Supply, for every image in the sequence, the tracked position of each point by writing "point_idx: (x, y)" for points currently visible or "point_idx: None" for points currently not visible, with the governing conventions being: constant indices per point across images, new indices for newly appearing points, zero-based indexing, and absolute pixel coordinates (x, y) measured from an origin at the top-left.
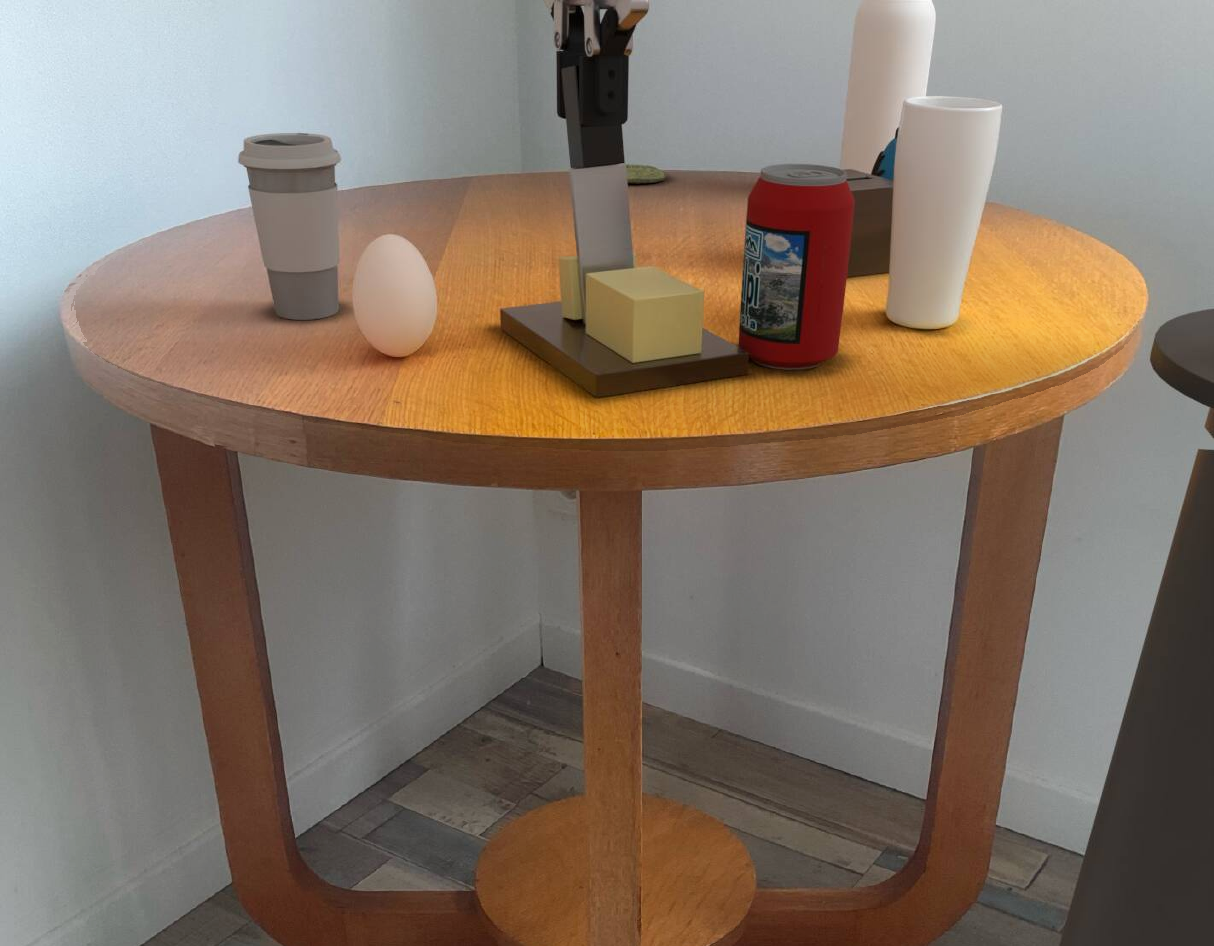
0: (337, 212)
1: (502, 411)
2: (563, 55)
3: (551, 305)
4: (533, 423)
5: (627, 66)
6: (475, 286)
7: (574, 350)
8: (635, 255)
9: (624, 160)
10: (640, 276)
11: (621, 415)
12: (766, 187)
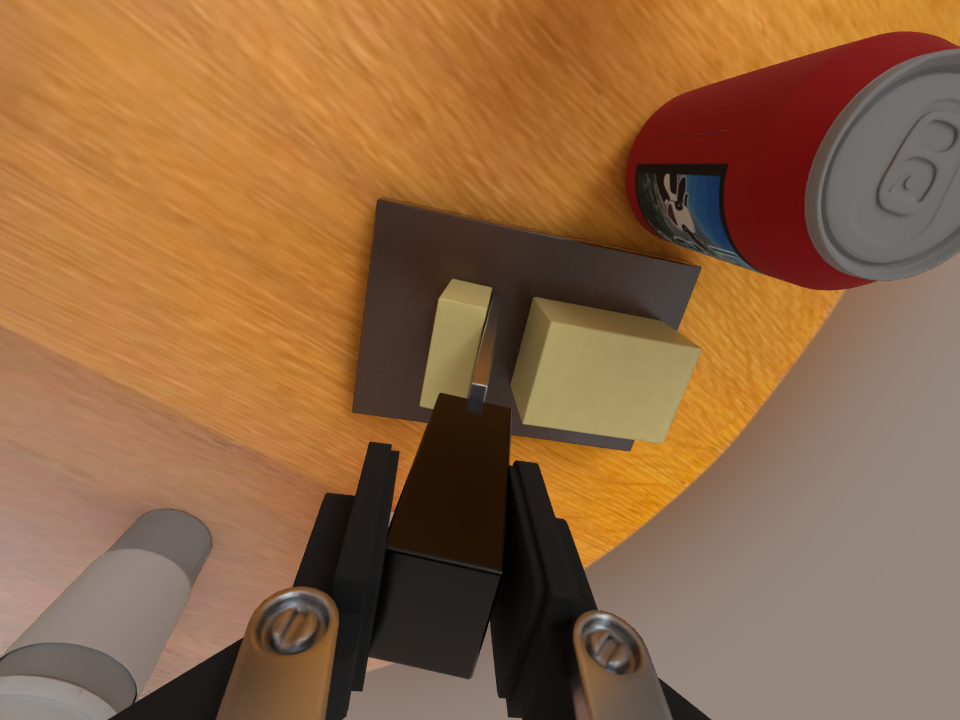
0: (119, 612)
1: (587, 514)
2: (358, 690)
3: (375, 352)
4: (628, 508)
5: (569, 569)
6: (123, 320)
7: (553, 428)
8: (486, 307)
9: (511, 410)
10: (585, 373)
11: (669, 442)
12: (851, 282)
